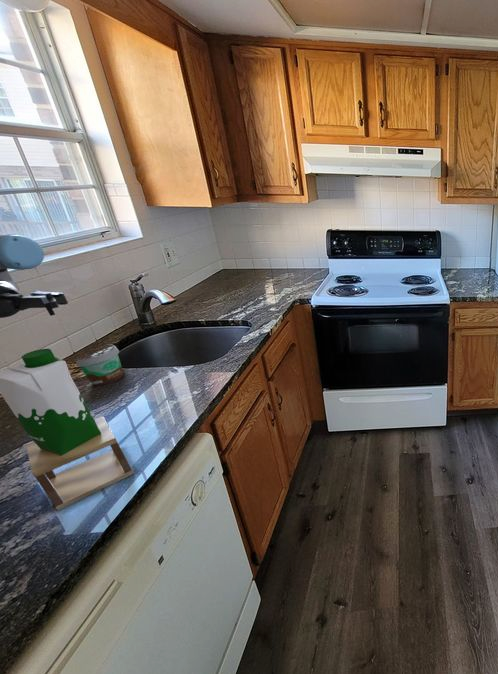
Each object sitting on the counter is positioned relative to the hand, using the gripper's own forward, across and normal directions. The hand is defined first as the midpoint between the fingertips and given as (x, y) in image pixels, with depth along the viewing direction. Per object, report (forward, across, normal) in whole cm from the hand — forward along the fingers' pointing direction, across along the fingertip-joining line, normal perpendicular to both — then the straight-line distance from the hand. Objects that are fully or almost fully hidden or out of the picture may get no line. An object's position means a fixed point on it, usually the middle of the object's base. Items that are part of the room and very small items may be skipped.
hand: (1, 319), depth 71 cm
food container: (-43, -14, -36) cm, 58 cm away
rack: (+9, 0, -36) cm, 37 cm away
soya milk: (+9, 0, -26) cm, 28 cm away
